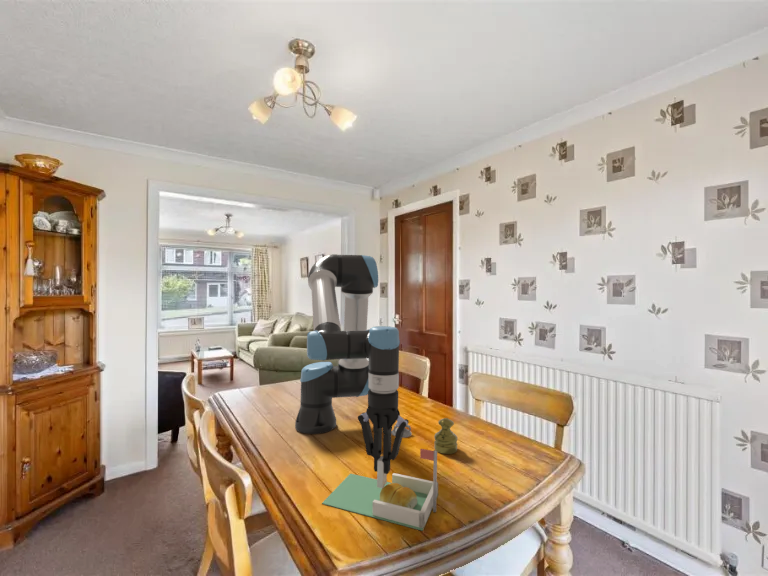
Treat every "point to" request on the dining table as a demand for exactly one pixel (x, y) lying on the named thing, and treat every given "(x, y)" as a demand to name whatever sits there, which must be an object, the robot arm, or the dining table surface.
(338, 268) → the robot arm
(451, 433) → the olive green sack
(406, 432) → the miniature
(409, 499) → the bread roll
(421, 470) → the dining table surface
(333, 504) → the green mat
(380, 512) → the white u-shaped piece
